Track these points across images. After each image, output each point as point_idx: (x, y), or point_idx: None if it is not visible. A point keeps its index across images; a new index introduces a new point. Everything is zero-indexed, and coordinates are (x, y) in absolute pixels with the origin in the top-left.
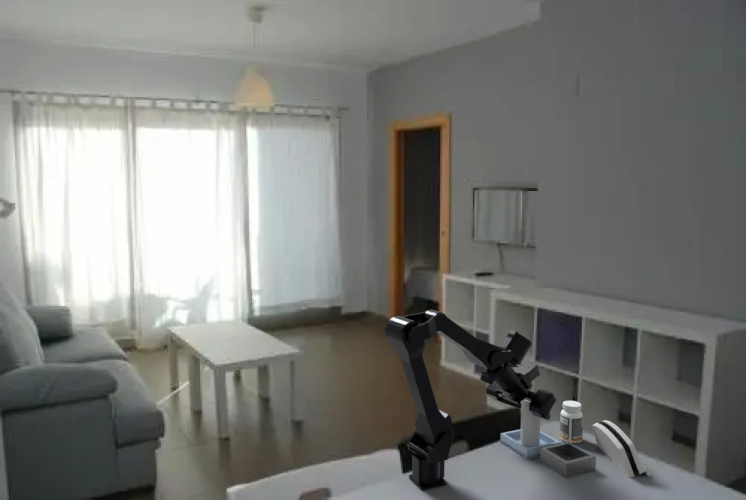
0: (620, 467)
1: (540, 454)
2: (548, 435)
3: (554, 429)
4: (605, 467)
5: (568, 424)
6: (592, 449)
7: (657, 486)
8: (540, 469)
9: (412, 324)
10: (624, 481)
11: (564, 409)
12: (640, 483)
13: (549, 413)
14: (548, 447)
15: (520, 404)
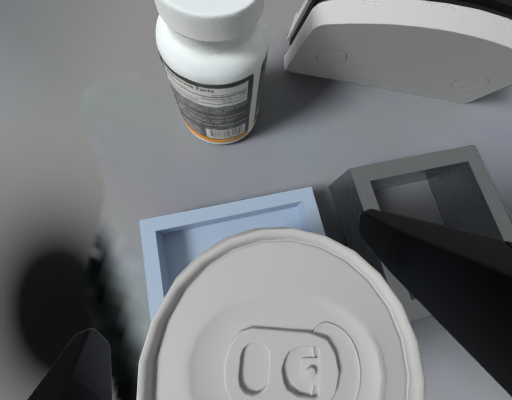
0: (428, 94)
1: None
2: (244, 200)
3: (126, 120)
4: (413, 127)
5: (249, 95)
6: (301, 94)
7: None
8: (421, 337)
9: None
10: (489, 128)
11: (206, 44)
12: (497, 99)
13: (423, 225)
14: (398, 281)
15: (86, 355)
